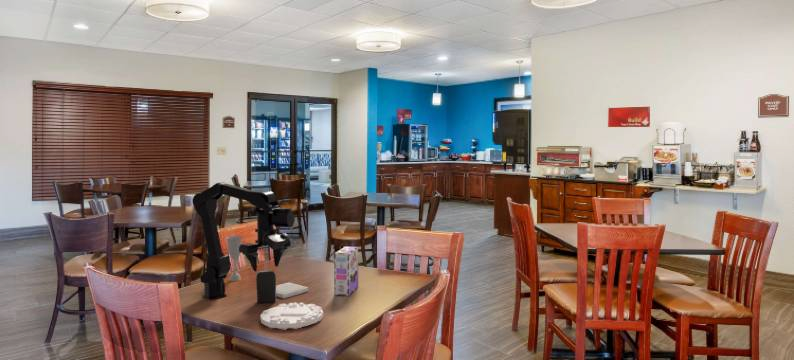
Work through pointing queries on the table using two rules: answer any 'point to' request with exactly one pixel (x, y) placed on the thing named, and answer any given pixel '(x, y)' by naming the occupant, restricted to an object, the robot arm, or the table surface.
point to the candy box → (345, 271)
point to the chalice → (234, 253)
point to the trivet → (290, 290)
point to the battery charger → (266, 286)
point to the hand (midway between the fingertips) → (266, 268)
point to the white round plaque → (291, 315)
